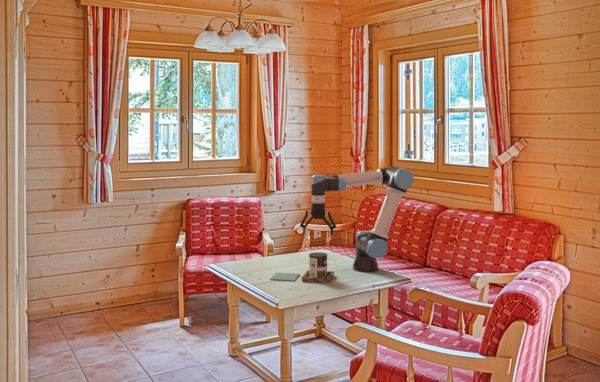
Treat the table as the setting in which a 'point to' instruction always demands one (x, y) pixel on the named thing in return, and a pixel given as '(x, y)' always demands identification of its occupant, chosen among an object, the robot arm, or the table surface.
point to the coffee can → (318, 265)
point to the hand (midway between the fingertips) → (317, 240)
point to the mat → (284, 276)
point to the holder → (317, 280)
